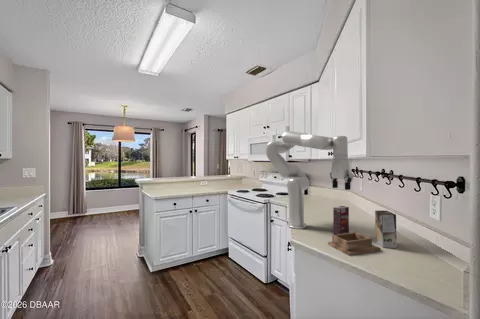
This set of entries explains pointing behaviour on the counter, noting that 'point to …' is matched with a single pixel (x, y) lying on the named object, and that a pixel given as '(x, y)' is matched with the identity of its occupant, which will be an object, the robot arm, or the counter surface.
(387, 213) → the coffee box
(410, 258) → the counter surface
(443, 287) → the counter surface
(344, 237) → the brown wooden tray
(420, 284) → the counter surface
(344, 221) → the supplement box
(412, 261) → the counter surface
